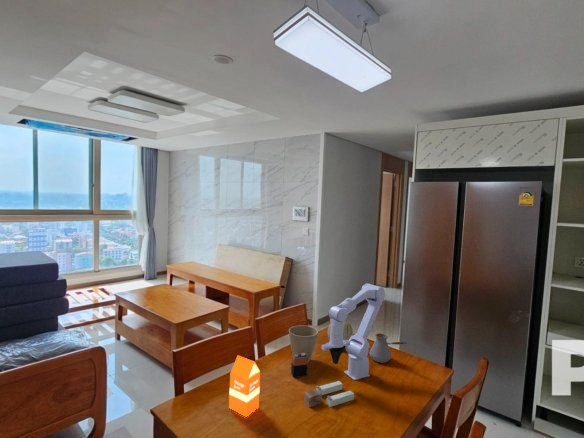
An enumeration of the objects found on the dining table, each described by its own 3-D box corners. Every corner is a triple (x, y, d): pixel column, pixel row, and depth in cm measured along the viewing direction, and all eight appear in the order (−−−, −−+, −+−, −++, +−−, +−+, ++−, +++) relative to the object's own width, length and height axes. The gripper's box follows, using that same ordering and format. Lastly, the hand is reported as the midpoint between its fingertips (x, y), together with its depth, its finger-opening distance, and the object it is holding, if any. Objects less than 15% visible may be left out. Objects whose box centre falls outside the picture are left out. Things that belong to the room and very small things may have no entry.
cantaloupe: (326, 348, 178) (327, 322, 177) (327, 338, 192) (328, 314, 192) (352, 351, 176) (354, 325, 175) (352, 341, 190) (353, 316, 189)
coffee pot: (364, 357, 170) (366, 329, 169) (378, 352, 176) (380, 326, 176) (397, 375, 152) (399, 345, 152) (412, 369, 159) (414, 340, 158)
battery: (307, 376, 148) (308, 355, 148) (293, 378, 146) (294, 356, 146) (304, 371, 152) (305, 351, 152) (290, 373, 150) (291, 352, 150)
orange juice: (246, 418, 117) (248, 365, 116) (228, 409, 122) (230, 358, 121) (259, 407, 124) (261, 357, 123) (241, 399, 128) (243, 351, 127)
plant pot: (322, 361, 163) (323, 330, 163) (304, 371, 152) (305, 339, 152) (300, 351, 173) (301, 322, 173) (281, 360, 162) (282, 330, 161)
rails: (338, 386, 141) (339, 379, 141) (353, 399, 132) (354, 392, 132) (316, 392, 135) (316, 385, 135) (330, 406, 126) (330, 399, 126)
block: (315, 398, 132) (316, 388, 132) (321, 403, 128) (321, 393, 128) (303, 402, 129) (304, 392, 129) (309, 407, 125) (309, 397, 125)
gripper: (344, 328, 149) (342, 356, 150) (318, 332, 142) (316, 362, 143) (353, 333, 143) (352, 363, 143) (327, 338, 136) (325, 369, 137)
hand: (335, 363), depth 143 cm, fingers closed
